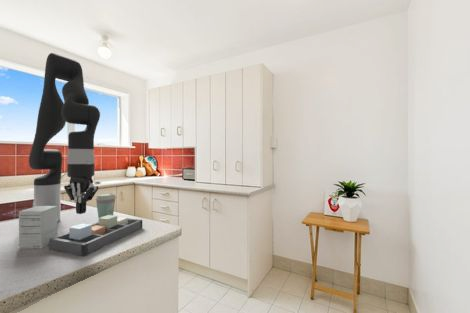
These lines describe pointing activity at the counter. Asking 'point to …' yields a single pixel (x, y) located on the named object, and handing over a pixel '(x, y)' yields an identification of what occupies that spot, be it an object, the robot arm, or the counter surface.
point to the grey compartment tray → (93, 239)
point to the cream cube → (122, 220)
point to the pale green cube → (108, 221)
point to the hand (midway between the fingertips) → (81, 213)
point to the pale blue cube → (80, 231)
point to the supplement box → (37, 226)
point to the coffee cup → (105, 204)
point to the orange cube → (98, 230)
